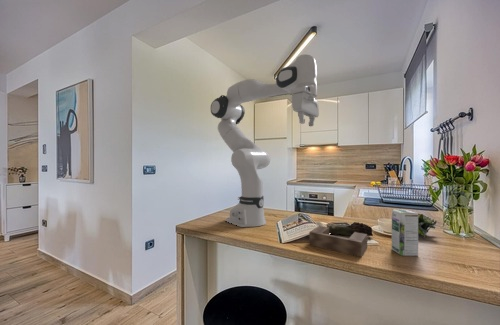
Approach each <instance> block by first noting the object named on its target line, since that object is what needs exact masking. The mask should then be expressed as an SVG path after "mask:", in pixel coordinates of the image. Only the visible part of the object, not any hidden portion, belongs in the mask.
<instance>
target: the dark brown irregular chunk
mask: <svg viewBox="0 0 500 325" xmlns="http://www.w3.org/2000/svg"><path fill="white" fill-rule="evenodd" d="M326 227H329V233H331V234H341V235H340V236H351V235H352V234H353V233H354V232H357V233H363V234H367V237H374V235H373V228H372V227H371V226H369V225H367V224H364V223H363V222H356V221H354V222H353V223H351V224H350V225H343V224H332V223H331V224H329V223H327V224H326Z"/></svg>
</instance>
